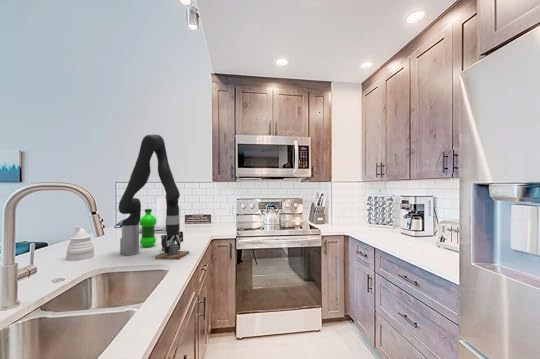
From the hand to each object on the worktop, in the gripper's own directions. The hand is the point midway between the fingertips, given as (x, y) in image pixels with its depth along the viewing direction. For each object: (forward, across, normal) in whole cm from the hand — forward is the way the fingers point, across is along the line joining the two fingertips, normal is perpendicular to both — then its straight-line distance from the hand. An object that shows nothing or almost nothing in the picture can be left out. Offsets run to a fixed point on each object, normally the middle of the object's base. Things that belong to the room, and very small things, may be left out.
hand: (172, 251), depth 156 cm
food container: (+3, +12, +14) cm, 19 cm away
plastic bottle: (+3, +11, +34) cm, 36 cm away
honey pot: (+3, -25, +45) cm, 52 cm away
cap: (+1, 0, 0) cm, 1 cm away
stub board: (+3, 0, 0) cm, 3 cm away
